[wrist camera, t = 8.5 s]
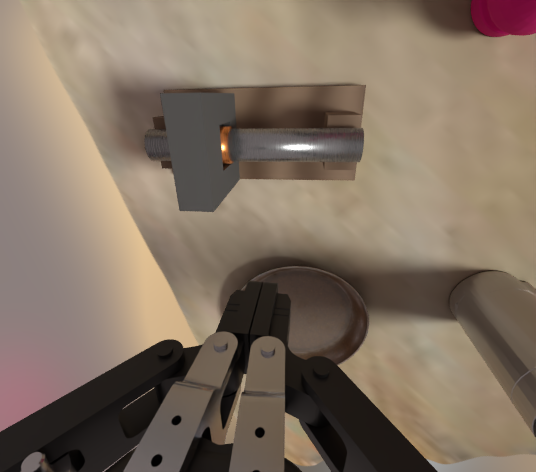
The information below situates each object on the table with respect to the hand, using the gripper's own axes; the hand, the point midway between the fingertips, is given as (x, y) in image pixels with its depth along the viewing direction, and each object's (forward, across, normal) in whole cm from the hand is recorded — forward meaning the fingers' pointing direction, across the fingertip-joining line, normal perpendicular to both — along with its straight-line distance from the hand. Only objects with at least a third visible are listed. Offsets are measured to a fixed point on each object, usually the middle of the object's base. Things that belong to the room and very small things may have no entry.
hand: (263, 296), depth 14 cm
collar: (+21, +8, -5) cm, 23 cm away
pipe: (+18, +4, -5) cm, 19 cm away
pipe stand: (+24, +4, -5) cm, 25 cm away
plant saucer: (+25, -2, +22) cm, 33 cm away
